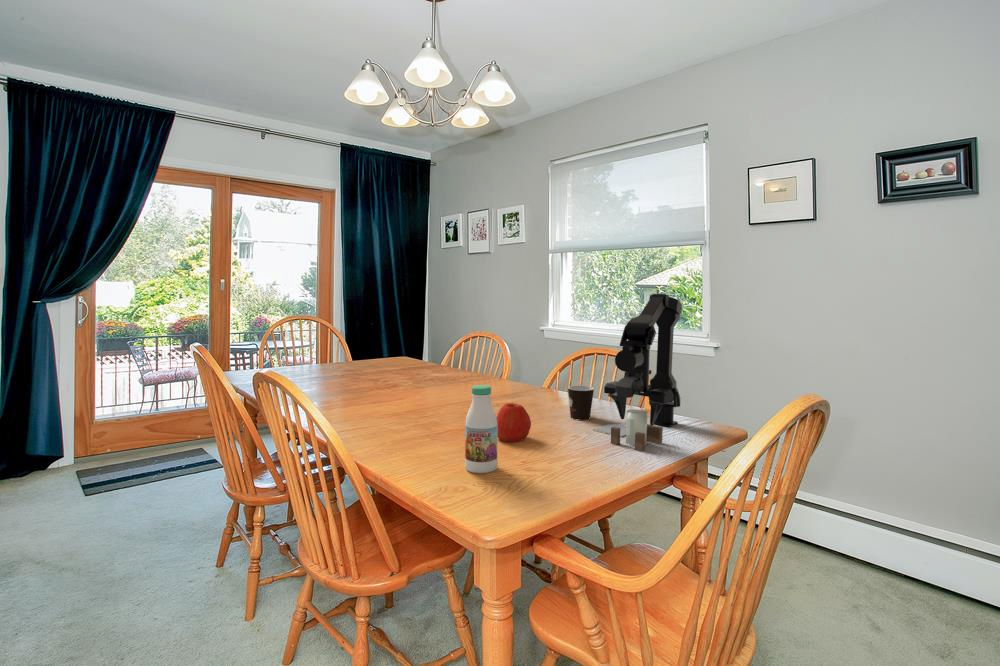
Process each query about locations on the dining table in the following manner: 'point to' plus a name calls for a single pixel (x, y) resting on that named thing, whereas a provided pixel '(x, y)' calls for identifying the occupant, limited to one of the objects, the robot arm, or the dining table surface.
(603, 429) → the slate mat
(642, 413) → the cylinder with square knob
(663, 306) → the robot arm
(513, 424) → the apple
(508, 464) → the dining table surface
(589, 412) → the coffee mug
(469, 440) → the milk bottle
